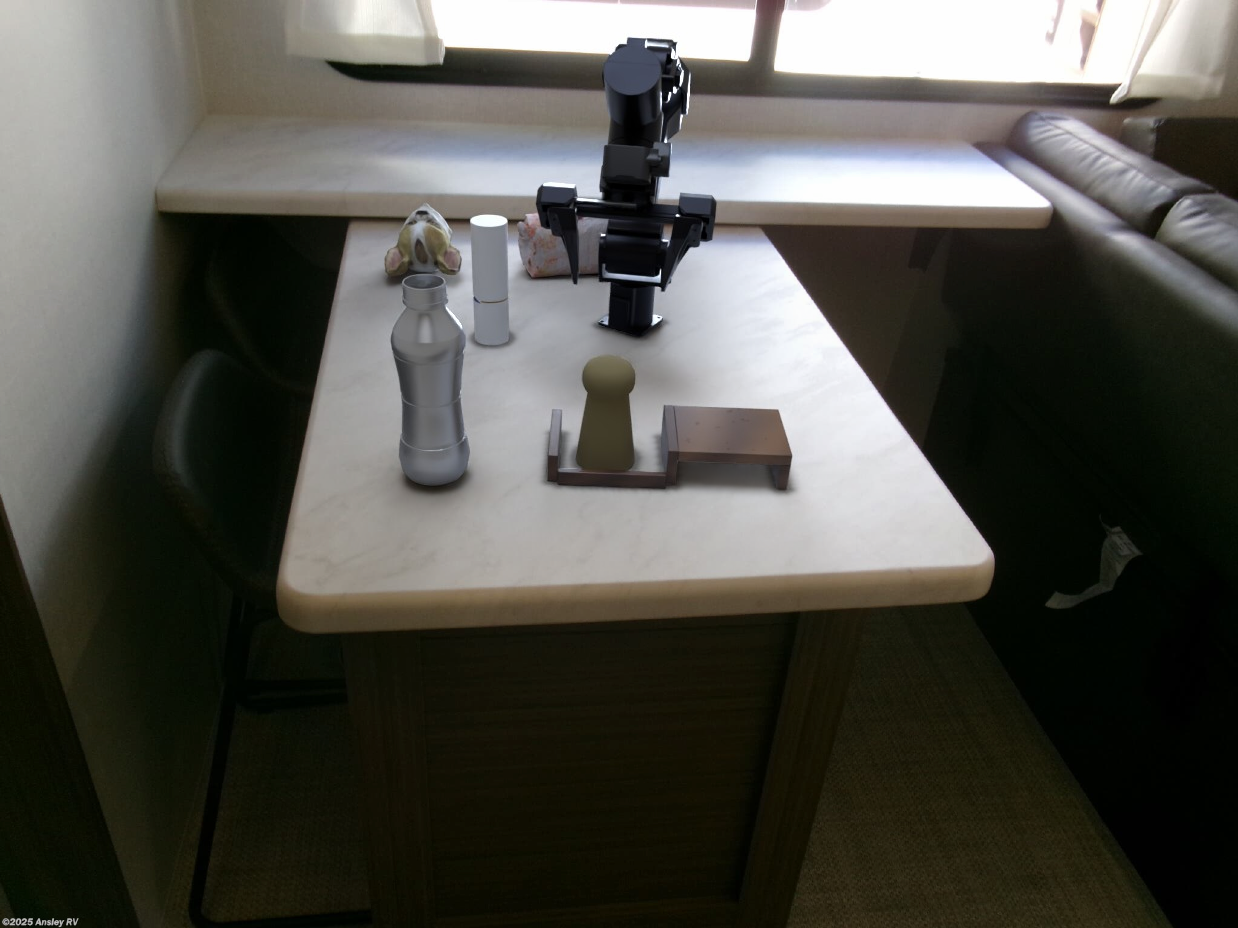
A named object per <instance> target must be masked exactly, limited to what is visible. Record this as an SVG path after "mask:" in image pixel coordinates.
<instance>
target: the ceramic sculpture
mask: <svg viewBox="0 0 1238 928" xmlns="http://www.w3.org/2000/svg"><path fill="white" fill-rule="evenodd" d="M452 239H453V229H451V228H450V227H449V225H448V223H447V221H446V220H445V218H444V217H443V216H442V215H441V214H440V213H439V212H438V211H437V210H435V209H434V208H433V207H431V206H430V205H429V204H428V203H427V202H424V203H423V204H422V205H421V206H420V207H419V208H417V209H416V210H414V211H413V212H412V213H411V214H410V215H409V216H408V217H407V218H406V219H405V222H404V224H403V226H402V228H401V229H400V231H399V234H398V239H397V242H396V245H395V246H393V247H391V248H389V249H388V250H387V252H386V254H385V256H384V260H383V261H384V272H385V274H386V275H387V276H394V277H395V276H401V275H403V274H405V273H406V272H408V270H409V269H410V270H411V271H413V272H416V273H433V272H436V271H438V270H439V272H440V273H442V274H444V275H447V276H456V275H458V274H459V273H460V271H461V268H462V262H463V261H462V260H463V258H462V255H461V252H460V251H461V250H459V249H458V248H456V247H455V246H453V245H452Z"/></svg>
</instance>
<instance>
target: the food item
mask: <svg viewBox="0 0 1238 928" xmlns="http://www.w3.org/2000/svg"><path fill="white" fill-rule="evenodd" d="M607 224H608V219H602V218H589V217H578V231H579V275H597V274H598V250H599V241H600V236H601V234H604V235H605V233H606V229H607ZM516 225H517V227H516V228H517V232H518V235H517V236H518V237H517V244H518V251H519V256H520V259H521V262H522V264H523V266H525V268H526V270H527V273H529V276H530V277H531V278H544V277H553V276H562V275H563V276H570V275H571V276H572V274H571V269H570V264H569V259H568V255H567V252H566V249H565V246H564V244H563V241H562V238H561V237H556V236H553V235H552V233H551V230H549V229H545V228H543V227H541V224H540V220H539V216H538V212H535V213H526V214H525V217H524V221H518V223H517V224H516Z"/></svg>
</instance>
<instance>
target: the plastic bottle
mask: <svg viewBox="0 0 1238 928" xmlns="http://www.w3.org/2000/svg"><path fill="white" fill-rule="evenodd" d="M401 289H402V296H401V303H402V304H403V305H404V306H405V308H404V310H403V311H402V313H400V315H399V316H398V318H397V320H396V322H395V323H394V325H393V327H392V331H391V334H390V345H391V350H392V357H393V359H394V364H395V368H396V372H397V376H398V383H399V390H400V398H401V406H402V407H401V433H400V436H399V437H400V438H399V443H398V444H399V445H398V460H399V462H400V467H401V469H402V472H403V473H404V474H405V475H406V476H407V477H408V479H410V480H411V481H413V482H415V483H416V484H420V485H423V486H433V487H434V486H442V485H447V484H451V483H453V482H455V481H457V480H458V479H460V477H462V476H463V474H464V473H465V472H466V470H467V468H468V466H469V461H470V456H471V450H470V444H469V439H468V435H467V432H466V429H465V422H464V415H463V407H462V406H463V405H462V385H463V384H462V381H463V380H462V379H463V378H462V376H463V368H464V359H465V352H466V341H467V340H466V339H467V337H466V333H465V329H464V327H463V325H462V324H461V322H460V321H459V320H458V318H457V317H456V315H455V314H454V313H453V312H452V311H451V310H450V309H449V308H448V307H447V306H446V305H448V303H449V294H448V293H447V282H446V280H445V278H444V277H442V276H440V275H437V274H431V273H419V274H412V275H408V276H406V277H405V278H403V280H402V282H401Z"/></svg>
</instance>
